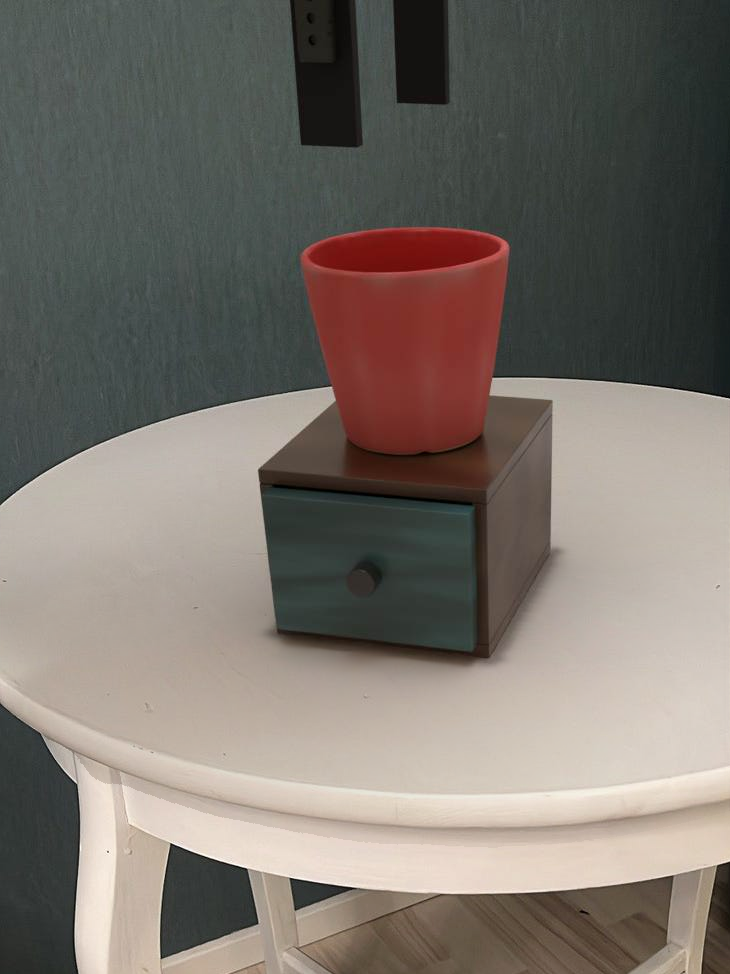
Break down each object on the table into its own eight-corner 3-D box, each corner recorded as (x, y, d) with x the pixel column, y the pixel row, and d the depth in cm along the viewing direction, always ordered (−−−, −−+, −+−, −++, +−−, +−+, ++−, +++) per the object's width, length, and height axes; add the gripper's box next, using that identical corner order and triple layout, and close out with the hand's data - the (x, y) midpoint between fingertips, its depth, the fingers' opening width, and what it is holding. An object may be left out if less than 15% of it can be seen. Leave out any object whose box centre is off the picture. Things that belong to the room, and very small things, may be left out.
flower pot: (287, 421, 77) (269, 239, 71) (458, 391, 81) (454, 216, 75) (360, 481, 70) (346, 282, 64) (545, 444, 74) (547, 253, 68)
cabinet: (489, 658, 74) (486, 489, 68) (276, 632, 77) (257, 469, 71) (550, 551, 85) (552, 399, 80) (363, 533, 88) (352, 384, 83)
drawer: (465, 662, 72) (462, 523, 67) (267, 639, 74) (251, 503, 70) (532, 552, 83) (533, 426, 79) (358, 534, 86) (349, 412, 81)
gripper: (331, -563, 43) (368, 171, 56) (523, -432, 62) (518, 90, 75) (119, -545, 45) (201, 163, 57) (370, -424, 64) (390, 86, 77)
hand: (381, 123), depth 66 cm, fingers open, 13 cm apart
